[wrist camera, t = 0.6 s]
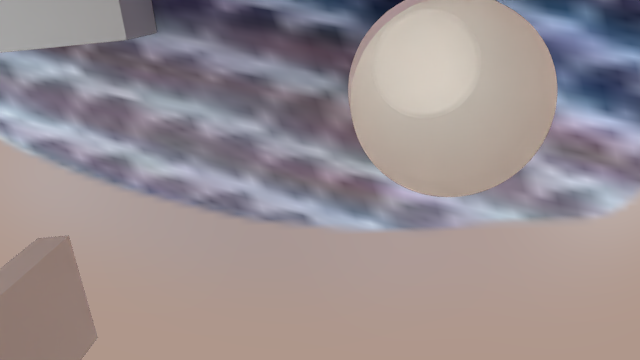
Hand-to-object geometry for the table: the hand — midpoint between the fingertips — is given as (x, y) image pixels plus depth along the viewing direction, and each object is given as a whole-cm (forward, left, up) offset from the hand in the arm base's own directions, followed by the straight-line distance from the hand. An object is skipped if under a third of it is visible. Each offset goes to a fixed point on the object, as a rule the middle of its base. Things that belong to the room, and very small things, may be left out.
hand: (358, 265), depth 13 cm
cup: (-1, +4, -26) cm, 26 cm away
